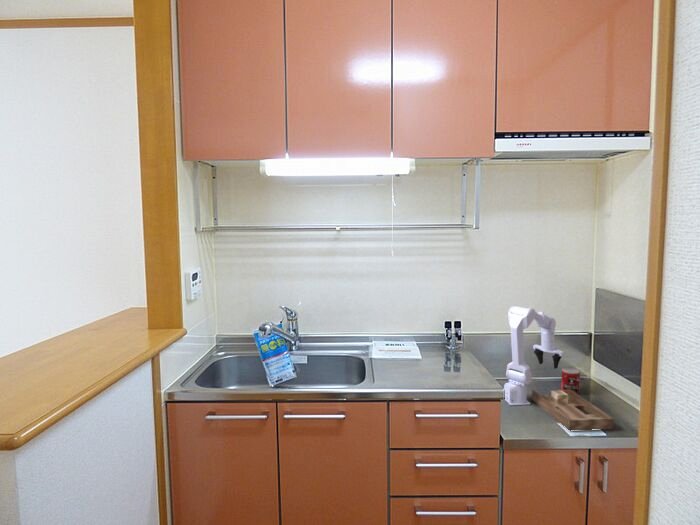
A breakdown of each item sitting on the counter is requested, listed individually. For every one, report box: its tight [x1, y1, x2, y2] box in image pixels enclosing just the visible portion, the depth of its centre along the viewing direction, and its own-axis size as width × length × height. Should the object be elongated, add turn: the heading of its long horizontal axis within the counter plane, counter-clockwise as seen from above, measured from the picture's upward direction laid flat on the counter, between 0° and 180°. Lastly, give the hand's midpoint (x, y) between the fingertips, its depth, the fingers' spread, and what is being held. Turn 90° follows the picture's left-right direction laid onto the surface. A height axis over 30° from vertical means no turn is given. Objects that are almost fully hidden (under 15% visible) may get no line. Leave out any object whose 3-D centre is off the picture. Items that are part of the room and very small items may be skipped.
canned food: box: [560, 366, 581, 395], centre depth 194 cm, size 8×8×11 cm
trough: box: [531, 389, 615, 431], centre depth 172 cm, size 18×29×4 cm, turn 4°
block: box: [550, 389, 568, 404], centre depth 180 cm, size 5×5×4 cm
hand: (548, 365), depth 201 cm, fingers open, 7 cm apart
